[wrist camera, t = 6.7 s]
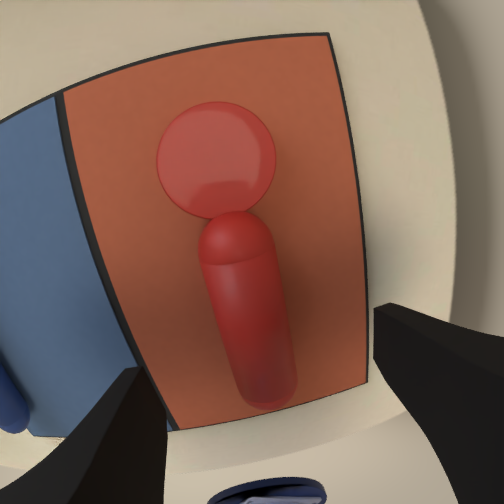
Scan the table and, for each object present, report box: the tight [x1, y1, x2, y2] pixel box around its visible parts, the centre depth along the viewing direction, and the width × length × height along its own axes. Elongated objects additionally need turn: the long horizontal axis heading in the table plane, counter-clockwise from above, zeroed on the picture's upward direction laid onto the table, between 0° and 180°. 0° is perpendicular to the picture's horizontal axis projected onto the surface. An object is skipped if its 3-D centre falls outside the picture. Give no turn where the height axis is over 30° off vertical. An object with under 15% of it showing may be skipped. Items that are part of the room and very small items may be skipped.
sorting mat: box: [0, 32, 369, 437], centre depth 11 cm, size 16×20×1 cm
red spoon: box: [156, 101, 298, 410], centre depth 10 cm, size 11×4×2 cm, turn 11°
